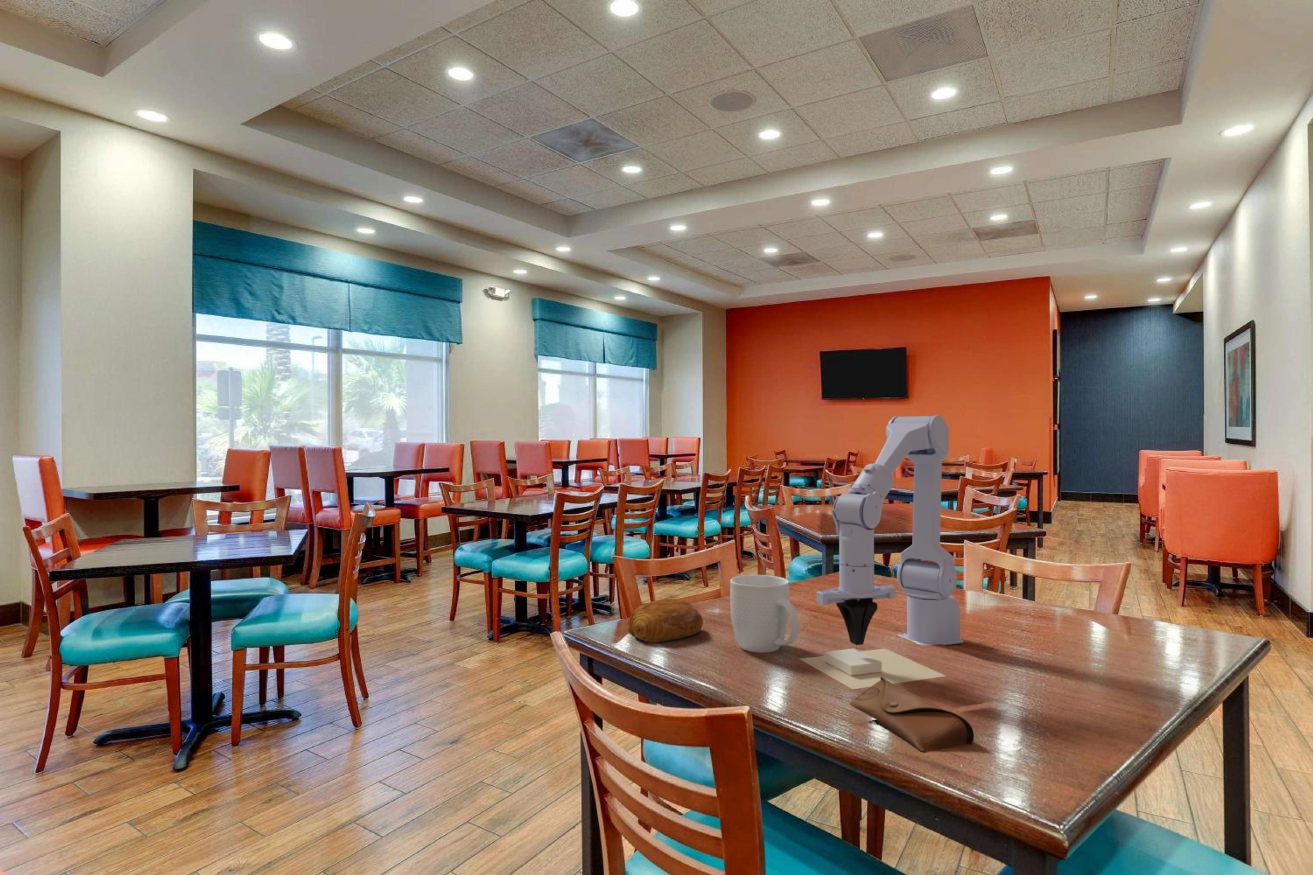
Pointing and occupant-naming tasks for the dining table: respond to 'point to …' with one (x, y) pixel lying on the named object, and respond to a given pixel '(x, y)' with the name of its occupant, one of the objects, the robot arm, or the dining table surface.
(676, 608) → the brown rounded lump
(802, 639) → the dining table surface
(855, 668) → the tile
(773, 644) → the mug
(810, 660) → the mat
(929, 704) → the sunglasses case
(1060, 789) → the dining table surface
